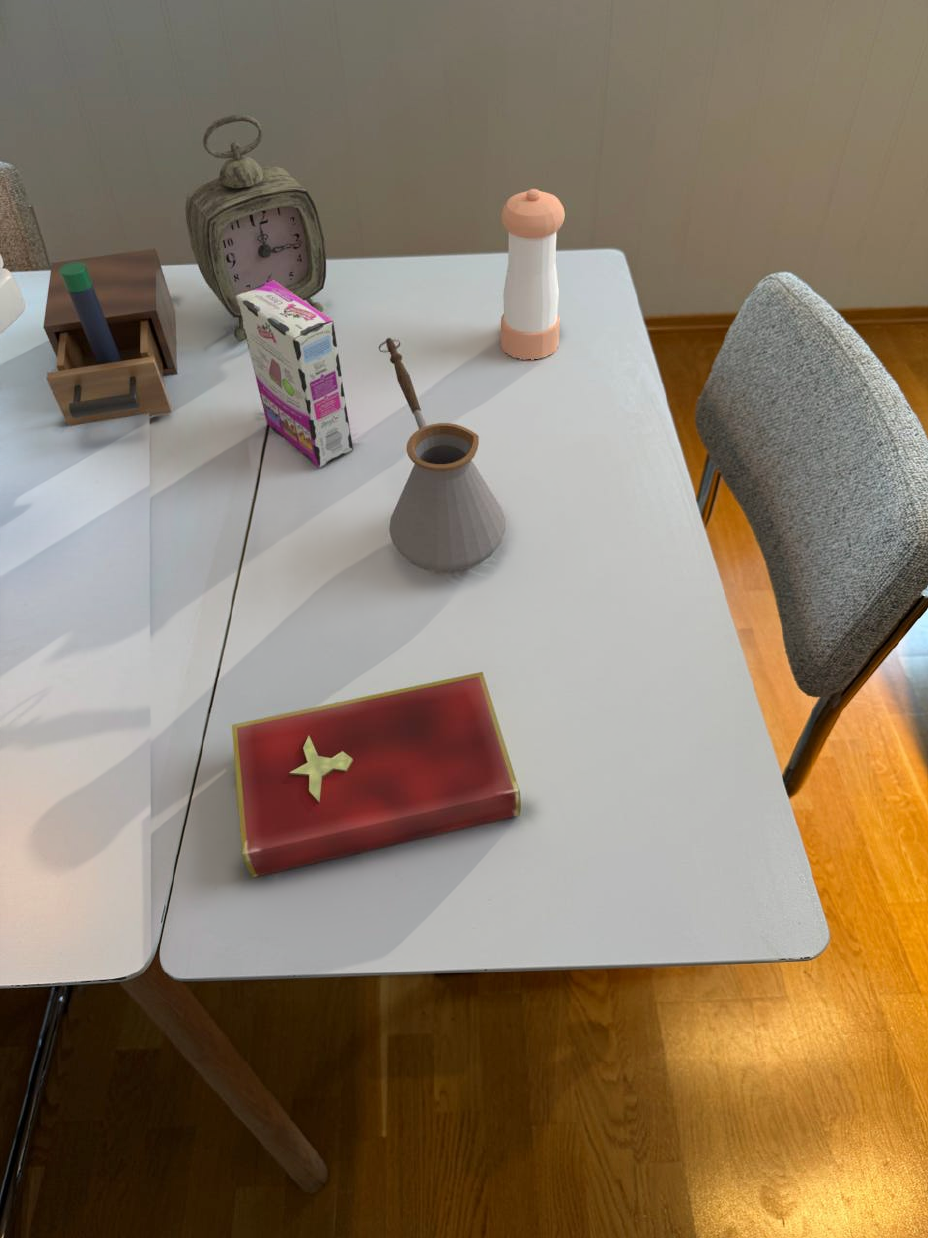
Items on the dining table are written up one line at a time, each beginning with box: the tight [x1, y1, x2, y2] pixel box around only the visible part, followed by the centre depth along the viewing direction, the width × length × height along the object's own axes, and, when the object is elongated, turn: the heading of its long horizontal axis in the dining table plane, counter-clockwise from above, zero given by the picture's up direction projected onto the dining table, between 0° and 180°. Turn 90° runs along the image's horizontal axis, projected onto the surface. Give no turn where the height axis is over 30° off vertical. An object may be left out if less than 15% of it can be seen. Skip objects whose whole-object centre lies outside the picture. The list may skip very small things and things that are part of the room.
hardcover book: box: [231, 671, 522, 878], centre depth 72 cm, size 12×21×4 cm, turn 103°
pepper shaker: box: [500, 188, 566, 361], centre depth 105 cm, size 7×7×19 cm
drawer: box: [46, 318, 172, 427], centre depth 104 cm, size 19×12×7 cm, turn 13°
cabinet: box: [42, 248, 178, 377], centre depth 112 cm, size 15×13×9 cm
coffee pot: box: [377, 337, 506, 574], centre depth 88 cm, size 21×12×15 cm, turn 21°
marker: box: [60, 262, 121, 365], centre depth 100 cm, size 3×3×15 cm
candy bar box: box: [236, 280, 354, 469], centre depth 96 cm, size 11×5×16 cm, turn 41°
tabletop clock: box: [185, 113, 327, 342], centre depth 109 cm, size 14×9×25 cm, turn 120°
